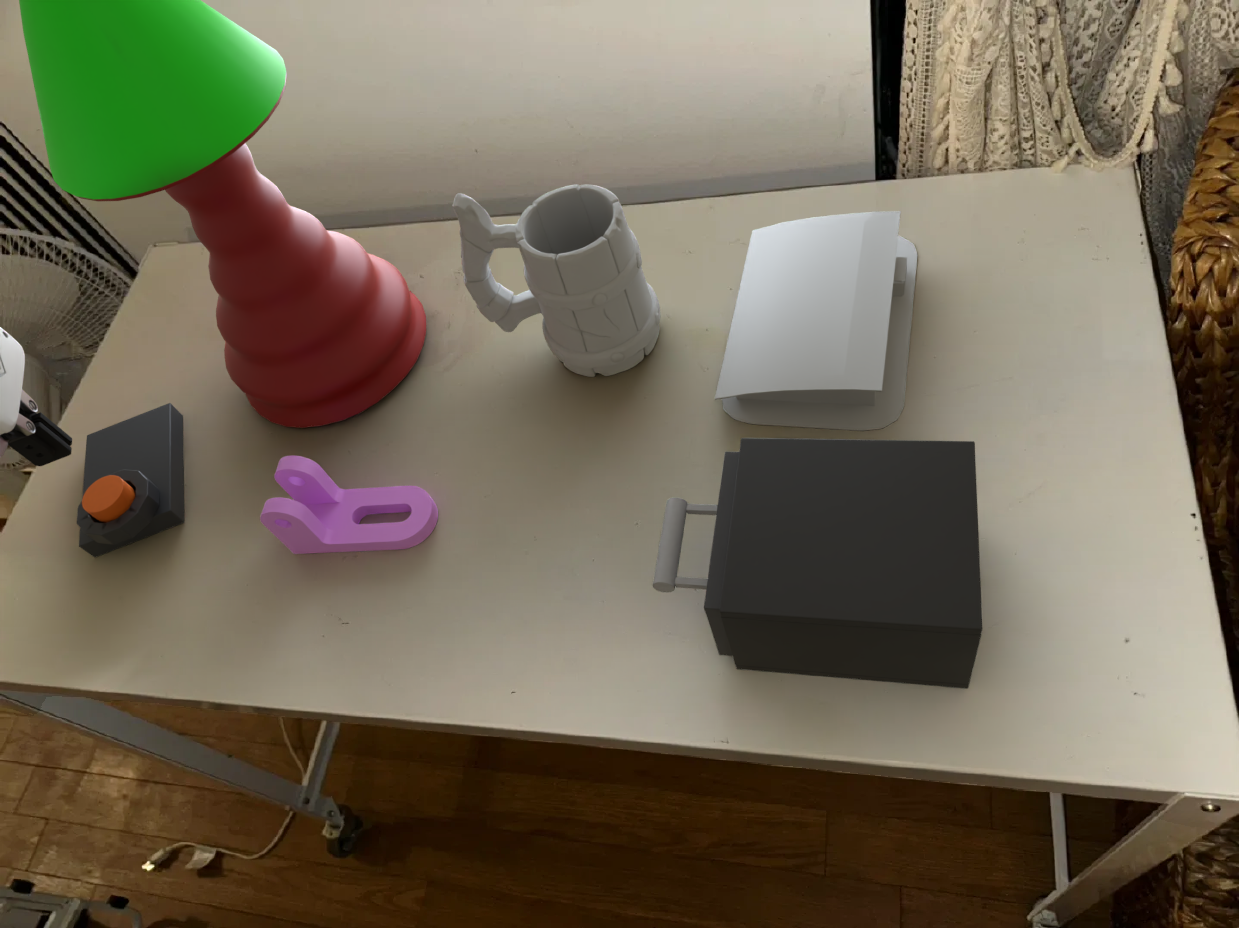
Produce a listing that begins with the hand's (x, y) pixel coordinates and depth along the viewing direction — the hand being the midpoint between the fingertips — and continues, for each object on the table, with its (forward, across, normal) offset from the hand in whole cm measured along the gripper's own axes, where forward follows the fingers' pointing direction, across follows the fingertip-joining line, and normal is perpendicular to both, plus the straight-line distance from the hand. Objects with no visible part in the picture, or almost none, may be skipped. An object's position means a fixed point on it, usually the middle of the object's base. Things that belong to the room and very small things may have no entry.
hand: (55, 453), depth 78 cm
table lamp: (+12, +12, -22) cm, 27 cm away
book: (+11, -8, -66) cm, 67 cm away
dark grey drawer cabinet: (+11, -33, -57) cm, 66 cm away
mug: (+11, +1, -45) cm, 46 cm away
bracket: (+11, -11, -22) cm, 27 cm away
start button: (+8, 0, 0) cm, 8 cm away
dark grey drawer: (+10, -31, -53) cm, 62 cm away
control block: (+11, +4, 0) cm, 12 cm away
